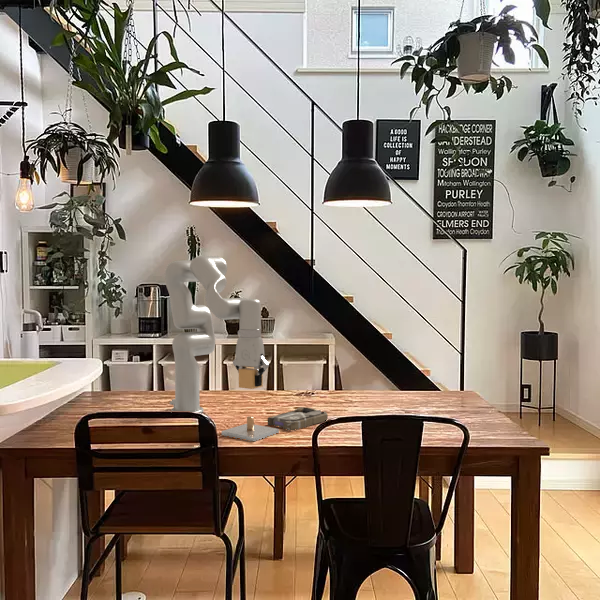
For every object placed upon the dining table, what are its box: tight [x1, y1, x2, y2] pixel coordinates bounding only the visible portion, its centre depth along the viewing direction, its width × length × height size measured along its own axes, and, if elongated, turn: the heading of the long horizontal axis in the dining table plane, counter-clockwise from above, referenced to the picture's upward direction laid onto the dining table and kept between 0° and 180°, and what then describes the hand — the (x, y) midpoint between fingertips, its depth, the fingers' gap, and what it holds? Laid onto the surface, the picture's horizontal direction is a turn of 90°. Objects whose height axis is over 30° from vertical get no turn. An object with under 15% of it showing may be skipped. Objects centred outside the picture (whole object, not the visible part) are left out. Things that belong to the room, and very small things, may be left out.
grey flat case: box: [267, 406, 329, 431], centre depth 248 cm, size 4×24×15 cm
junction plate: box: [221, 415, 280, 442], centre depth 229 cm, size 14×14×6 cm
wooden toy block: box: [238, 367, 264, 390], centre depth 234 cm, size 6×6×6 cm
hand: (250, 384), depth 234 cm, fingers closed on wooden toy block, 5 cm apart
